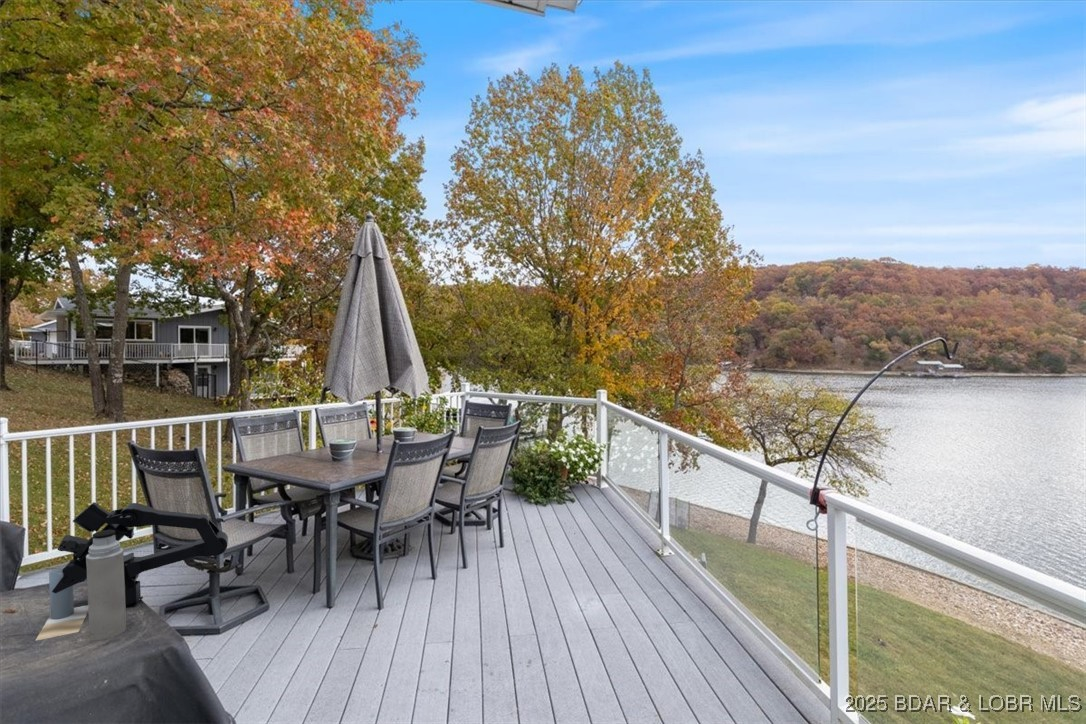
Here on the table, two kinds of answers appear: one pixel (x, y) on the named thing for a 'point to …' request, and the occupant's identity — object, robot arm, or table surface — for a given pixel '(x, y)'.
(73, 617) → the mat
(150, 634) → the table surface
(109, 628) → the thermos bottle
